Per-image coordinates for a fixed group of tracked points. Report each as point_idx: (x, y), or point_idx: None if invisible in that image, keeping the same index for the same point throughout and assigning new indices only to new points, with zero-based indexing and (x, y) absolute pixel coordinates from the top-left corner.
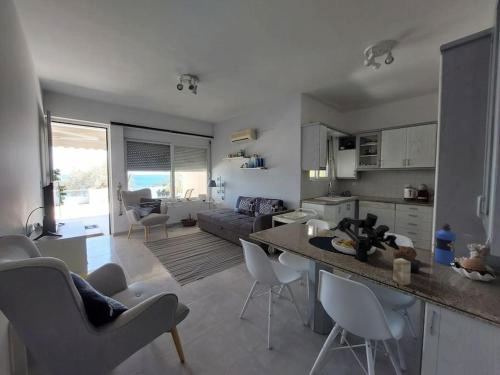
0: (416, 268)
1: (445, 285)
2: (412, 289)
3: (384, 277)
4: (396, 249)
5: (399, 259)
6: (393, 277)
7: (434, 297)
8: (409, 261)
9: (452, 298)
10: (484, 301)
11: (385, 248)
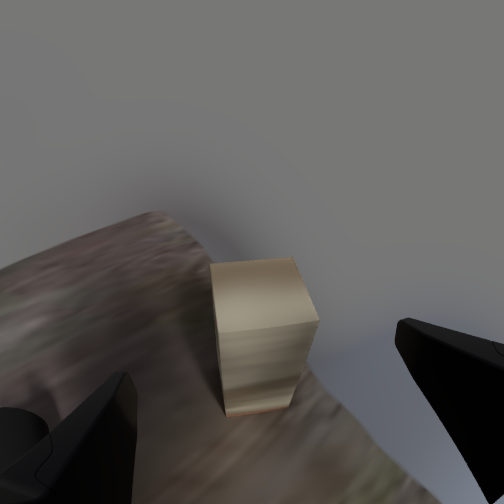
0: (44, 425)
1: (66, 324)
2: None
3: (315, 448)
4: (136, 426)
5: (265, 311)
6: (290, 398)
7: None
8: (212, 269)
9: (156, 264)
10: (86, 245)
11: (414, 319)
